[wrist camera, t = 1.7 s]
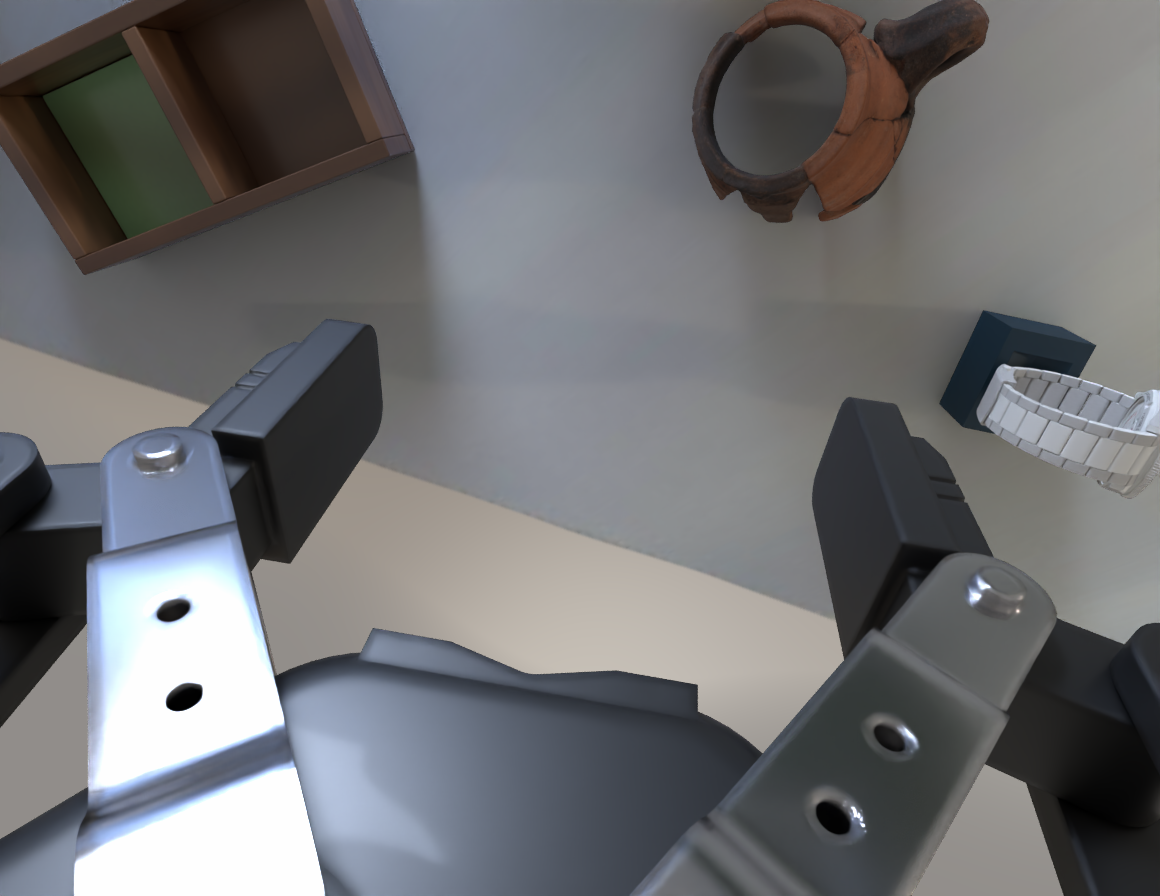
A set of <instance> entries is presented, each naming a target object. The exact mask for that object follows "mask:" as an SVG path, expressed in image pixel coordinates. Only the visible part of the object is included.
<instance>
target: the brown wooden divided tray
mask: <svg viewBox="0 0 1160 896" xmlns="http://www.w3.org/2000/svg"><path fill="white" fill-rule="evenodd" d="M0 145H1V147H2V148H3V150H4V151H5V153H6V154H7V156H8V157H9V159H10V161H11V162H12V164H13V165H14V167H15V168H16V170H17V172H18V173H19V175H20V176H21V178H22V179H23V181H24V182H25V184H26V186H27V187H28V189H29V190H30V192H31V193H32V195H33V196H34V198H35V200H36V201H37V203H38V204H39V206H40V207H41V209H42V210H43V212H44V214H45V215H46V217H47V218H48V220H49V221H50V223H51V225H52V226H53V228H54V229H55V231H56V232H57V234H58V235H59V237H60V239H61V240H62V242H63V243H64V245H65V246H66V248H67V249H68V251H69V253H70V254H71V256H72V257H73V259H76V260H75V262H76V264H77V265H78V267H79V268H80V270H81V271H82V273H83V274H84V275H87V274H90V273H93V272H96V271H99V270H102V269H105V268H108V267H112V266H115V265H118V264H121V263H124V262H127V261H130V260H133V259H136V258H139V257H141V256H144V255H146V254H149V253H152V252H154V251H157V250H159V249H162V248H164V247H167V246H170V245H172V244H175V243H177V242H180V241H182V240H185V239H188V238H190V237H193V236H195V235H198V234H200V233H203V232H206V231H208V230H211V229H213V228H216V227H218V226H221V225H224V224H226V223H229V222H231V221H234V220H237V219H239V218H242V217H244V216H247V215H249V214H252V213H255V212H257V211H260V210H262V209H265V208H267V207H270V206H273V205H275V204H278V203H280V202H283V201H285V200H288V199H291V198H293V197H296V196H298V195H301V194H303V193H306V192H309V191H311V190H314V189H316V188H319V187H321V186H324V185H327V184H329V183H332V182H334V181H337V180H339V179H342V178H345V177H347V176H350V175H352V174H355V173H357V172H360V171H363V170H365V169H368V168H370V167H373V166H375V165H378V164H381V163H383V162H386V161H388V160H391V159H394V158H396V157H399V156H401V155H404V154H406V153H409V152H412V151H414V147H413V145H412V142H411V140H410V137H409V135H408V132H407V130H406V127H405V125H404V122H403V120H402V118H401V115H400V113H399V110H398V108H397V105H396V103H395V100H394V98H393V96H392V93H391V91H390V88H389V86H388V83H387V81H386V78H385V76H384V74H383V71H382V69H381V66H380V64H379V61H378V59H377V56H376V54H375V51H374V49H373V47H372V44H371V42H370V39H369V37H368V34H367V32H366V29H365V27H364V25H363V22H362V20H361V17H360V15H359V12H358V10H357V7H356V5H355V3H354V0H133V1H131V2H129V3H127V4H125V5H123V6H121V7H119V8H117V9H115V10H112V11H110V12H108V13H106V14H104V15H102V16H100V17H98V18H96V19H94V20H92V21H90V22H87V23H85V24H83V25H81V26H79V27H77V28H75V29H73V30H71V31H69V32H67V33H65V34H62V35H60V36H58V37H56V38H54V39H52V40H50V41H48V42H46V43H44V44H42V45H40V46H38V47H35V48H33V49H31V50H29V51H27V52H25V53H23V54H21V55H19V56H17V57H15V58H13V59H10V60H8V61H6V62H4V63H2V64H0Z"/></svg>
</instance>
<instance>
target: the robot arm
mask: <svg viewBox="0 0 1160 896" xmlns="http://www.w3.org/2000/svg"><path fill="white" fill-rule="evenodd" d="M382 411H383V400H382V389H381V378H380V367H379V355H378V344H377V336H376V332H375V330H374V328H373V327H372V326H371V325H368V324H361V323H354V322H347V321H341V320H334V319H326V320H324V321H323V322H322V323H321V324H320V325H319V326H318V327H317V328H316V329H315V330H314V331H313V332H311V333H310V334H309V335H308V336H307V337H306V338H305V339H304V340H303V341H302V342H301V343H297V342H293V343H290V344H288V345H286V346H284V347H282V348H279V349H277V350H275V351H273V352H271V353H269V354H267V355H266V356H264V357H263V358H262V359H261V360H260V361H259V362H258V363H257V364H256V365H255V366H254V367H253V368H251V369H250V373H249V374H247V373H246V374H245V375H244V376H243V377H242V378H241V379H240V380H238V381H237V382H236V383H235V387H231V388H230V389H229V390H228V391H227V392H225V393H224V394H223V395H222V396H221V397H220V398H219V399H218V400H217V401H216V402H215V403H213V404H212V405H211V406H210V407H209V408H208V409H207V410H206V411H205V412H204V413H203V414H202V415H200V416H199V417H198V418H197V419H196V420H195V421H194V422H193V423H192V424H191V425H190V426H189V427H165V428H158V429H154V430H149V431H145V432H142V433H139V434H136V435H134V436H132V437H129V438H127V439H125V440H123V441H121V442H120V443H118V444H117V445H115V446H114V447H113V448H112V449H111V450H109V451H108V452H107V453H106V455H105V456H104V457H103V459H102V461H101V463H82V464H61V465H45V464H44V462H43V460H42V458H41V456H40V453H39V451H38V449H37V446H36V444H35V443H34V442H33V441H32V440H31V439H29V438H28V437H26V436H23V435H20V434H15V433H5V432H0V727H1V726H2V725H3V724H4V723H5V721H6V720H7V719H8V718H9V717H10V716H11V714H12V713H13V712H14V711H15V709H16V708H17V707H18V706H19V705H20V703H21V702H22V701H23V700H24V699H25V697H26V696H27V695H28V694H29V693H30V691H31V690H32V689H33V688H34V687H35V685H36V684H37V683H38V682H39V681H40V679H41V678H42V677H43V676H44V675H45V673H46V672H47V671H48V669H50V667H51V666H52V665H53V664H54V663H55V661H56V660H57V659H58V658H59V656H60V655H61V654H62V653H63V652H64V650H65V649H66V648H67V647H68V646H69V645H70V643H71V642H72V641H73V640H74V638H75V637H76V636H77V635H78V634H79V633H80V631H81V630H82V629H83V628H84V626H85V625H86V624H87V665H88V666H87V668H88V669H87V672H88V673H87V674H88V675H87V679H88V787H87V788H85V789H84V790H82V791H80V792H79V793H77V794H75V795H74V796H72V797H70V798H69V799H67V800H65V801H64V802H62V803H60V804H59V805H57V806H55V807H54V808H52V809H50V810H48V811H47V812H45V813H43V814H42V815H40V816H38V817H37V818H35V819H33V820H32V821H30V822H28V823H27V824H25V825H23V826H22V827H20V828H18V829H17V830H15V831H13V832H12V833H10V834H8V835H7V836H5V837H3V838H1V839H0V896H912V894H913V892H914V890H915V888H916V887H917V885H918V883H919V881H920V879H921V878H922V876H923V874H924V872H925V870H926V868H927V867H928V865H929V863H930V861H931V860H932V858H933V856H934V854H935V852H936V851H937V849H938V847H939V845H940V843H941V842H942V839H943V838H944V836H945V834H946V832H947V831H948V829H949V827H950V825H951V824H952V822H953V820H954V818H955V816H956V814H957V813H958V811H959V809H960V807H961V805H962V804H963V802H964V800H965V798H966V796H967V795H968V793H969V791H970V789H971V787H972V785H973V784H974V782H975V780H976V778H977V777H978V775H979V773H980V771H981V769H982V768H983V766H984V764H986V765H988V766H990V767H993V768H995V769H997V770H999V771H1001V772H1004V773H1006V774H1008V775H1010V776H1012V777H1014V778H1017V779H1019V780H1021V781H1023V782H1026V784H1027V787H1028V790H1029V793H1030V796H1031V799H1032V802H1033V805H1034V808H1035V811H1036V814H1037V817H1038V820H1039V823H1040V826H1041V829H1042V832H1043V834H1044V838H1045V841H1046V844H1047V846H1048V850H1049V853H1050V856H1051V859H1052V861H1053V865H1054V868H1055V870H1056V874H1057V877H1058V880H1059V883H1060V886H1061V888H1062V891H1063V894H1064V896H1160V623H1151V624H1146V625H1144V626H1142V627H1140V628H1139V629H1138V630H1137V631H1136V632H1135V633H1134V634H1133V635H1132V636H1131V638H1130V639H1129V640H1128V641H1127V642H1126V644H1125V645H1124V644H1122V643H1119V642H1117V641H1114V640H1111V639H1109V638H1106V637H1103V636H1101V635H1098V634H1096V633H1093V632H1090V631H1088V630H1085V629H1082V628H1080V627H1077V626H1075V625H1072V624H1069V623H1067V622H1065V621H1062V620H1060V619H1058V618H1057V613H1056V609H1055V606H1054V604H1053V602H1052V600H1051V598H1050V597H1049V596H1048V594H1047V593H1046V591H1045V590H1044V589H1043V588H1042V587H1041V586H1040V585H1039V584H1038V583H1037V582H1036V581H1034V580H1033V579H1032V578H1031V577H1029V576H1028V575H1027V574H1025V573H1024V572H1022V571H1021V570H1019V569H1017V568H1016V567H1014V566H1012V565H1010V564H1008V563H1006V562H1004V561H1001V560H999V559H996V558H994V557H993V554H992V552H991V550H990V548H989V546H988V544H987V542H986V540H985V538H984V536H983V534H982V532H981V530H980V528H979V526H978V524H977V522H976V520H975V518H974V516H973V514H972V512H971V510H970V508H969V506H968V504H967V503H965V502H964V499H965V498H964V495H963V493H962V491H961V489H960V487H959V485H956V484H955V483H956V479H955V477H954V475H953V473H952V471H951V469H950V467H949V465H948V463H947V461H946V459H945V458H944V457H943V456H942V455H941V454H940V453H939V452H938V451H937V450H935V449H934V448H933V447H932V446H931V445H930V444H929V443H928V442H927V441H926V440H925V439H924V438H919V437H912V436H910V433H909V431H908V429H907V427H906V424H905V422H904V420H903V418H902V415H901V413H900V411H899V409H898V407H897V405H895V404H893V403H886V402H879V401H872V400H866V399H859V398H852V397H848V398H846V399H845V400H844V402H843V403H842V405H841V407H840V409H839V412H838V415H837V417H836V420H835V423H834V426H833V428H832V431H831V434H830V436H829V439H828V442H827V445H826V447H825V450H824V453H823V455H822V458H821V461H820V464H819V466H818V469H817V472H816V475H815V479H814V485H813V492H812V506H813V511H814V516H815V521H816V526H817V531H818V536H819V540H820V545H821V550H822V555H823V560H824V565H825V569H826V574H827V579H828V584H829V589H830V593H831V598H832V603H833V608H834V613H835V618H836V622H837V627H838V632H839V637H840V642H841V646H842V651H843V656H844V661H843V662H842V663H841V664H840V666H839V667H838V668H837V669H836V670H835V671H834V672H833V674H832V675H831V676H830V677H829V678H828V679H827V680H826V681H825V683H824V684H823V685H822V686H821V687H820V688H819V690H818V691H817V692H816V693H815V694H814V695H813V697H812V698H811V699H810V700H809V701H808V702H807V703H806V705H805V706H804V707H803V708H802V709H801V710H800V712H799V713H798V714H797V715H796V716H795V717H794V718H793V720H792V721H791V722H790V723H789V724H788V725H787V726H786V728H785V729H784V730H783V731H782V732H781V733H780V735H779V736H778V737H777V738H776V739H775V740H774V741H773V742H772V744H771V745H770V746H769V747H768V748H767V749H766V751H765V752H764V753H761V752H760V751H759V750H758V749H757V748H756V747H754V746H753V745H752V744H751V743H750V742H749V741H747V740H746V739H745V738H743V737H742V736H740V735H739V734H738V733H736V732H735V731H733V730H732V729H730V728H729V727H727V726H726V725H724V724H722V723H720V722H718V721H717V720H715V719H713V718H711V717H709V716H707V715H704V714H702V713H700V712H698V701H697V700H698V685H696V684H690V683H684V682H679V681H673V680H667V679H662V678H656V677H650V676H644V675H639V674H633V673H627V672H622V671H596V672H576V673H555V674H528V673H524V672H521V671H518V670H516V669H514V668H511V667H509V666H507V665H504V664H502V663H500V662H497V661H495V660H493V659H490V658H488V657H486V656H483V655H481V654H478V653H476V652H474V651H472V650H469V649H467V648H465V647H462V646H460V645H458V644H455V643H453V642H450V641H444V640H438V639H433V638H427V637H421V636H415V635H410V634H404V633H398V632H393V631H387V630H382V629H375V628H373V629H372V631H371V633H370V635H369V637H368V639H367V641H366V643H365V646H364V647H363V649H362V651H361V653H350V654H344V655H338V656H331V657H327V658H323V659H320V660H315V661H311V662H309V663H306V664H303V665H300V666H297V667H295V668H292V669H289V670H287V671H285V672H283V673H281V674H279V675H277V673H276V669H275V665H274V661H273V657H272V653H271V649H270V644H269V640H268V637H267V632H266V629H265V625H264V621H263V616H262V612H261V608H260V604H259V600H258V596H257V592H256V588H255V584H254V580H253V577H252V573H251V571H252V570H253V569H254V567H255V566H256V564H257V563H258V562H259V560H260V559H265V560H271V561H277V562H282V563H291V562H292V560H293V559H294V557H295V556H296V554H297V553H298V551H299V550H300V548H301V547H302V545H303V543H304V542H305V541H306V539H307V538H308V536H309V535H310V533H311V532H312V530H313V529H314V527H315V526H316V524H317V523H318V521H319V520H320V519H321V517H322V516H323V514H324V513H325V511H326V510H327V508H328V507H329V505H330V504H331V502H332V501H333V499H334V498H335V496H336V495H337V493H338V492H339V490H340V489H341V487H342V486H343V484H344V483H345V481H346V480H347V478H348V477H349V475H350V474H351V472H352V471H353V469H354V468H355V467H356V465H357V464H358V462H359V461H360V459H361V458H362V456H363V455H364V453H365V452H366V450H367V449H368V447H369V446H370V444H371V443H372V441H373V440H374V438H375V437H376V435H377V432H378V430H379V427H380V423H381V419H382Z"/></svg>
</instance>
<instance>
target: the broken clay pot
mask: <svg viewBox="0 0 1160 896" xmlns="http://www.w3.org/2000/svg"><path fill="white" fill-rule="evenodd" d="M988 24H989V18H988V15H987V14H986V12H985V10H984V8H983V7H982V6H981V5H980V4H978V3H977V2H976V1H974V0H941V1H939V2H937V3H935V4H932V5H930V6H928V7H926V8H924V9H922V10H920V11H919V12H917V13H916V14H914V15H912V16H910V17H908V18H906V19H902V20H889V19H882V20H880V21H879V22H878V24H877V25H876V27H875V30H874V41H873V40H872V39H868V38H866V37H865V36H864V35H863V34H861V32H862V30H863V29H864V27H865V25H866V21H865V20H864V19H863V18H862V17H860V16H858V15H856V14H854V13H852V12H849V11H847V10H844V9H841V8H838V7H836V6H833V5H829V4H824V3H822V2H819V1H815V0H782V1H777V2H774V3H771V4H768V5H766V6H765V7H764V9H763V10H761V11H760V12H758V13H757V14H755V15H754V16H753V17H751V18H750V19H749V20H747V21H746V22H745V23H744V24H743V25H741V26H740V27H739V28H738V29H737V30H736V31H735V32H734V33H732V32H729V33H725V34H724V35H723V36H722V37H721V38H720V39H719V41H718V42H717V44H716V45H715V47H714V48H713V50H712V51H711V53H710V54H709V56H708V59H707V61H706V63H705V65H704V67H703V69H702V71H701V73H700V75H699V78H698V81H697V85H696V87H695V93H694V99H693V111H694V114H693V117H692V123H693V127H692V132H693V135H694V138H695V143H696V147H697V150H698V155H699V157H700V160H701V162H702V165H703V167H704V169H705V171H706V174H707V176H708V179H709V181H710V183H711V185H712V188H713V190H714V191H715V193H716V194H717V196H718V197H719V199H720V200H723V199H724V198H725V197H726V196H727V195H729V194H730V193H732V192H734V191H736V190H738V191H740V192H741V195H742V198H743V200H744V202H745V203H746V204H747V205H748V207H749V208H750V209H751V210H753V211H755V212H757V213H759V214H761V215H762V216H763V217H764V219H765V220H766V221H768V222H776V223H786V222H790V221H791V220H792V218H793V213H792V210H793V209H794V208H795V207H796V205H797V203H798V201H799V199H800V197H801V196H802V195H803V193H804V192H805V190H806V189H807V188H808V187H809V185H810V184H813V186H814V188H815V190H816V193H817V194H818V195H819V198H820V200H821V202H822V206H823V209H824V210H823V211H821V212H820V213H819V215H818V217H819V220H820V221H822V222H823V221H829V220H833V219H836V218H839V217H841V216H843V215H845V214H846V213H849V212H851V211H853V210H855V209H857V208H858V207H859V206H861V205H862V204H863V203H865V202H866V201H868V200H869V199H870V198H871V197H873V196H874V195H875V193H876V192H877V191H878V190H879V188H880V187H881V185H882V184H883V182H884V181H885V180H886V178H887V176H888V174H889V172H890V171H891V169H892V168H893V166H894V164H895V162H896V160H897V158H898V156H899V154H900V152H901V150H902V148H903V146H904V143H905V141H906V139H907V136H908V133H909V131H910V128H911V125H912V120H913V117H914V114H915V107H914V104H915V98H916V97H917V95H918V94H919V92H920V91H921V89H922V88H923V87H924V86H925V85H926V84H927V83H928V82H929V81H930V80H931V79H932V78H934V77H936V76H937V75H939V74H940V73H942V72H944V71H945V70H947V69H949V68H951V67H953V66H954V65H956V64H958V63H959V62H961V61H962V60H964V59H965V58H967V57H968V56H970V55H971V54H972V53H974V52H975V51H977V50H978V49H979V48H980V47H981V46H982V45H983V44H984V42H985V39H986V33H987V29H988ZM787 25H805V26H809V27H813V28H815V29H817V30H819V31H821V32H823V33H824V34H826V35H827V36H828V37H829V38H830V39H831V40H832V41H833V43H834V44H835V45H836V46H837V47H838V48H839V49H840V52H841V54H842V57H843V60H844V63H845V67H846V77H847V85H846V96H845V101H844V105H843V109H842V112H841V115H840V117H839V119H838V121H837V123H836V125H835V127H834V130H833V131H832V133H831V134H830V135H829V137H828V138H827V139H826V141H825V142H824V144H823V145H822V146H821V147H820V148H819V149H818V150H817V151H816V152H815V153H814V154H813V155H812V156H810V157H809V158H808V159H807V160H805V161H804V162H803V163H802V164H801V165H800V166H798V167H796V168H794V169H791V170H789V171H786V172H783V173H780V174H775V175H768V176H764V175H753V174H749V173H747V172H744V171H741V170H739V169H737V168H735V167H734V166H733V165H732V164H731V163H730V162H729V161H728V160H727V159H726V157H725V156H724V155H723V153H722V152H721V150H720V147H719V145H718V142H717V140H716V136H715V131H714V124H713V113H714V106H715V101H716V96H717V92H718V89H719V86H720V83H721V81H722V78H723V76H724V74H725V73H726V71H727V69H728V68H729V66H730V64H731V63H732V61H733V60H734V59H735V57H736V56H737V55H738V53H739V52H740V51H741V50H742V49H743V47H744V45H745V44H747V43H748V42H752V41H754V40H755V39H757V38H758V37H759V36H760V35H761V34H762V33H763V32H764V31H766V30H767V29H769V28H771V27H772V28H778V27H782V26H787Z"/></svg>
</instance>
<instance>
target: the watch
mask: <svg viewBox="0 0 1160 896" xmlns="http://www.w3.org/2000/svg"><path fill="white" fill-rule="evenodd" d="M1095 347H1096V345H1094V344H1092V343H1091V342H1089V341H1087V340H1085V339H1083V338H1081V337H1079V336H1077V335H1075V334H1074V333H1072V332H1070V331H1068V330H1066V329H1064V328H1062V327H1059V326H1054V325H1049V324H1045V323H1040V322H1035V321H1031V320H1026V319H1021V318H1017V317H1012V316H1007V315H1003V314H998V313H993V312H989V311H984V310H983V312H982V314H981V317H980V319H979V321H978V323H977V325H976V327H975V329H974V331H973V334H972V336H971V338H970V340H969V342H968V344H967V346H966V348H965V351H964V353H963V355H962V357H961V359H960V361H959V363H958V365H957V367H956V370H955V372H954V374H953V376H952V378H951V380H950V382H949V384H948V387H947V389H946V391H945V393H944V395H943V397H942V399H941V401H940V405H941V406H942V407H943V408H944V409H945V410H946V411H947V412H948V413H949V414H950V415H951V416H952V417H953V418H954V419H955V420H956V421H957V422H958V423H959V424H960V425H961V426H962V427H965V428H970V429H974V430H979V431H984V432H989V433H993V434H996V435H998V436H1000V437H1001V438H1003V439H1004V440H1006V441H1007V442H1009V443H1011V444H1013V445H1014V446H1018V448H1020V449H1022V450H1023V451H1025V452H1027V453H1029V454H1031V455H1033V456H1035V457H1039V459H1041V460H1043V461H1045V462H1047V463H1050V464H1052V465H1054V466H1057V467H1059V468H1061V466H1062V468H1063V469H1065V470H1068V471H1071V472H1073V473H1076V474H1079V475H1082V476H1087V477H1089V478H1093V479H1096V480H1097V482H1098V484H1099V485H1101V486H1102V487H1103V488H1105V489H1108V490H1111V491H1113V492H1116V493H1119V494H1120V495H1121V496H1122V497H1125V498H1127V499H1131V498H1134V497H1135V496H1137V495H1138V494H1139V493H1140V492H1142V491H1143V490H1144V489H1145V488H1146V487H1147V486H1148V484H1149V483H1150V482H1151V481H1152V480H1153V478H1154V477H1155V476H1156V475H1157V473H1158V472H1159V470H1160V390H1149V391H1147V392H1137V393H1136V395H1135V397H1134V398H1133V397H1131V396H1128V395H1125V394H1124V393H1121V392H1118V391H1115V390H1113V389H1110V388H1107V387H1104V388H1103V386H1102V385H1099V384H1096V383H1092V382H1089V381H1085V380H1083V381H1082V379H1080V378H1078V377H1079V376H1080V374H1081V372H1082V370H1083V369H1084V367H1085V365H1086V363H1087V361H1088V360H1089V358H1090V356H1091V354H1092V352H1093V351H1094V349H1095ZM1081 381H1082V382H1081ZM1080 383H1081V384H1080ZM1079 385H1080V386H1079ZM1078 386H1079V388H1078ZM1102 388H1103V390H1102ZM1101 390H1102V391H1101ZM1100 392H1101V393H1100ZM1091 393H1092V394H1091ZM1090 394H1091V395H1090ZM1099 394H1100V395H1099ZM1089 395H1090V397H1089ZM1088 397H1089V399H1088ZM1087 399H1088V401H1087ZM1086 401H1087V402H1086ZM1085 402H1086V404H1085ZM1084 404H1085V406H1084ZM1109 405H1110V406H1109ZM1083 406H1084V407H1083ZM1082 407H1083V409H1082ZM1081 409H1082V411H1081ZM1106 410H1107V411H1106ZM1080 411H1081V413H1080ZM1064 412H1065V413H1064ZM1063 413H1064V414H1063ZM1079 413H1080V414H1079ZM1078 414H1079V416H1078ZM1103 415H1104V416H1103ZM1061 416H1062V417H1061ZM1060 418H1061V419H1060ZM1059 420H1060V421H1059ZM1100 420H1101V421H1100ZM1099 422H1100V423H1099ZM1074 429H1075V430H1074ZM1073 430H1074V431H1073ZM1072 431H1073V433H1072ZM1071 433H1072V435H1071ZM1070 435H1071V436H1070ZM1069 437H1070V438H1069ZM1068 438H1069V440H1068ZM1067 440H1068V442H1067ZM1066 442H1067V443H1066ZM1065 444H1066V445H1065ZM1064 445H1065V447H1064ZM1063 447H1064V449H1063ZM1062 449H1063V450H1062ZM1042 450H1043V451H1042ZM1061 450H1062V452H1061ZM1060 452H1061V454H1060ZM1040 453H1041V454H1040ZM1039 455H1040V456H1039ZM1064 461H1065V462H1064ZM1063 463H1064V464H1063Z"/></svg>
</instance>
